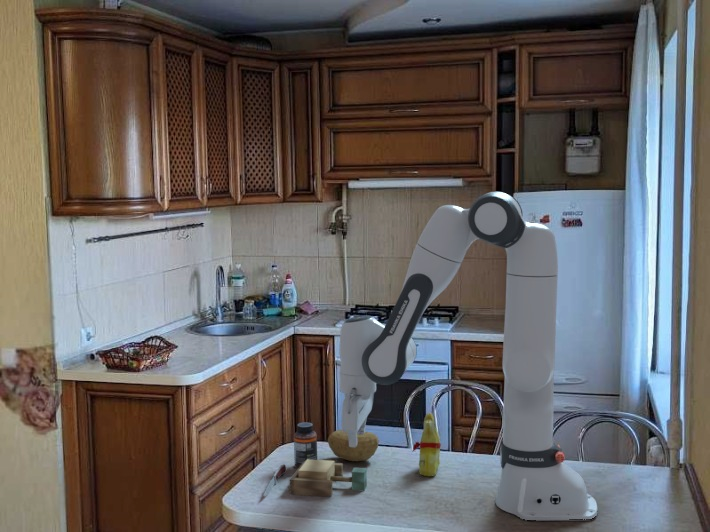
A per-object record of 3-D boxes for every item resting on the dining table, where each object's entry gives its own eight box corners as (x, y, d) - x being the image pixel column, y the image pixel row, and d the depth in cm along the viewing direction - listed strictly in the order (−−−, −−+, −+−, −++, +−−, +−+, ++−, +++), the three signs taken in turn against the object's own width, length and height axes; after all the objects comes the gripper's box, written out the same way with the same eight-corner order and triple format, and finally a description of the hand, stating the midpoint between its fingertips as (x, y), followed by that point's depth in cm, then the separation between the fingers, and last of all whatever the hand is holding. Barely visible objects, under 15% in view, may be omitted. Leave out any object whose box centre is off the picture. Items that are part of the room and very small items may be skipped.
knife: (282, 471, 210) (281, 460, 210) (286, 472, 210) (286, 460, 209) (261, 502, 190) (261, 490, 190) (266, 503, 190) (266, 490, 189)
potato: (337, 451, 224) (337, 422, 224) (384, 458, 218) (384, 428, 218) (320, 462, 216) (320, 432, 215) (369, 470, 210) (369, 439, 209)
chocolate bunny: (442, 463, 214) (442, 407, 212) (437, 478, 203) (437, 419, 201) (416, 461, 215) (416, 406, 214) (410, 476, 205) (409, 418, 203)
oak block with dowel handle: (368, 482, 201) (368, 462, 200) (362, 494, 193) (362, 474, 193) (307, 478, 204) (307, 459, 204) (298, 490, 196) (298, 470, 196)
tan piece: (342, 476, 205) (342, 463, 204) (331, 496, 192) (330, 482, 192) (304, 474, 207) (304, 460, 206) (289, 493, 194) (289, 479, 194)
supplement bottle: (305, 461, 217) (304, 419, 215) (322, 466, 213) (321, 423, 212) (289, 467, 212) (288, 424, 211) (306, 472, 208) (305, 429, 207)
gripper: (362, 395, 184) (361, 455, 185) (378, 374, 204) (377, 428, 205) (334, 394, 185) (334, 453, 187) (353, 372, 205) (352, 426, 207)
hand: (357, 439), depth 196 cm, fingers open, 8 cm apart
